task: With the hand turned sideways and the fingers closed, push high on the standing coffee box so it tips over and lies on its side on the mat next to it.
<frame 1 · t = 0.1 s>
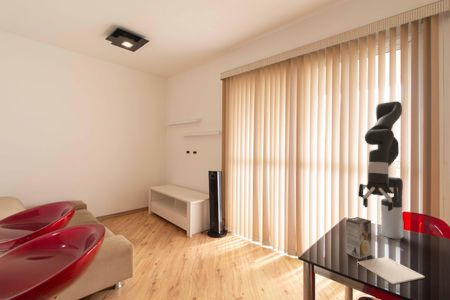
hand: (377, 209, 91), 22 cm above the table, tool pointing down, fingers open, 8 cm apart
coffee box: (358, 254, 95), on the table
mat: (388, 269, 82), on the table
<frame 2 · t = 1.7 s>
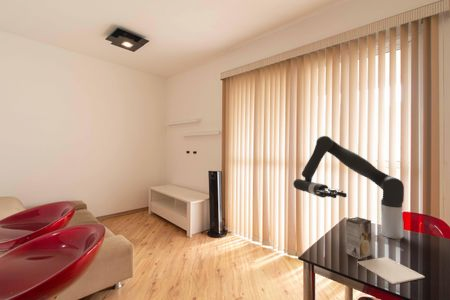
hand: (340, 195, 105), 25 cm above the table, tool horizontal, fingers open, 5 cm apart
nothing on the table moved.
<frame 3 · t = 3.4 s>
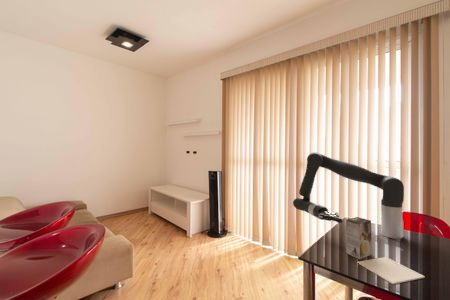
hand: (341, 221, 105), 12 cm above the table, tool horizontal, fingers closed
nothing on the table moved.
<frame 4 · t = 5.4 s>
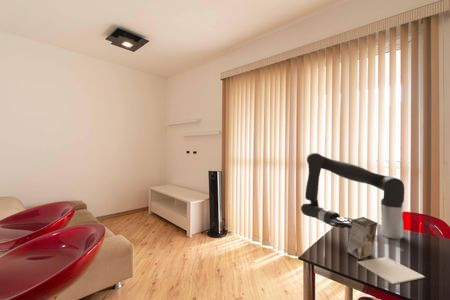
hand: (355, 228, 96), 11 cm above the table, tool horizontal, fingers closed
coffee box: (358, 253, 95), on the table, touching gripper
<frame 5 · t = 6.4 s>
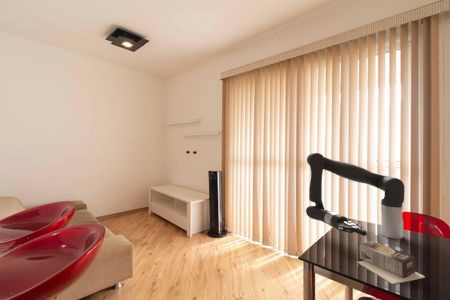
hand: (365, 233, 91), 11 cm above the table, tool horizontal, fingers closed
coffee box: (364, 249, 92), point 4 cm above the table, touching mat
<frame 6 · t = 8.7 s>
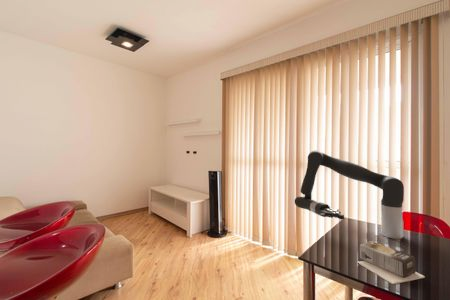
hand: (343, 217, 105), 14 cm above the table, tool horizontal, fingers closed
nothing on the table moved.
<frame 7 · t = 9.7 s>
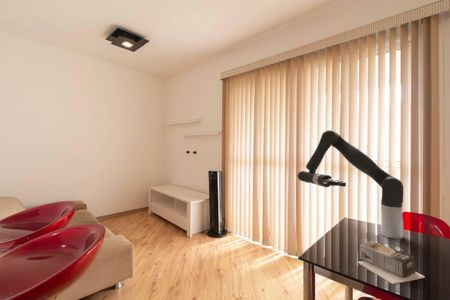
hand: (344, 184, 110), 30 cm above the table, tool horizontal, fingers closed
nothing on the table moved.
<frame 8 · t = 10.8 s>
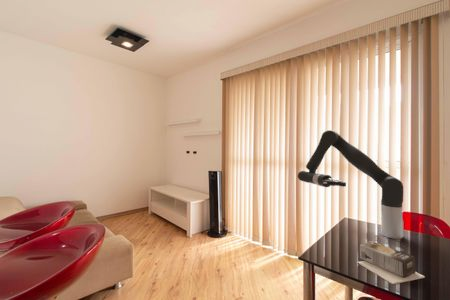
hand: (344, 184, 110), 30 cm above the table, tool horizontal, fingers closed
nothing on the table moved.
at the end: coffee box tilted 90°; coffee box touching mat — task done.
